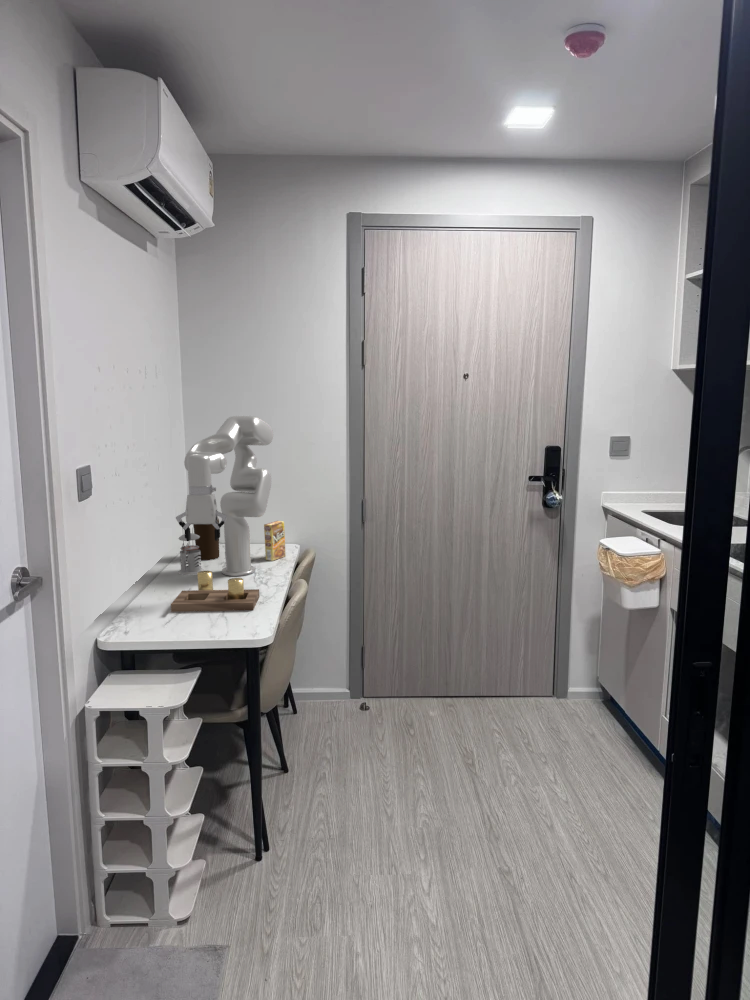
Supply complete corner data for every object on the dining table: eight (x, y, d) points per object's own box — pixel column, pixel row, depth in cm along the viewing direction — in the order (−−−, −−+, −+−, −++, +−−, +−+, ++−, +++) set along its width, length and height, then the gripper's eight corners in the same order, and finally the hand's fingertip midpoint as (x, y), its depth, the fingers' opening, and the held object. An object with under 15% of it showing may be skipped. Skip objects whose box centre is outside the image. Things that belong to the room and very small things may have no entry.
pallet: (182, 600, 222) (182, 590, 222) (259, 599, 223) (259, 589, 223) (171, 614, 209) (170, 604, 208) (253, 613, 209) (253, 602, 209)
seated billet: (230, 601, 218) (229, 577, 217) (245, 600, 218) (244, 577, 217) (227, 606, 213) (226, 582, 212) (243, 605, 214) (242, 582, 212)
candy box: (273, 561, 271) (271, 525, 269) (264, 560, 274) (263, 524, 271) (286, 556, 279) (284, 521, 276) (278, 555, 281) (276, 520, 278)
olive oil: (225, 555, 282) (222, 498, 278) (212, 561, 272) (209, 502, 268) (203, 553, 285) (200, 497, 281) (190, 559, 275) (186, 501, 271)
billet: (200, 592, 231) (199, 570, 230) (214, 592, 231) (213, 570, 230) (197, 597, 226) (195, 574, 225) (211, 596, 226) (210, 574, 225)
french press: (207, 568, 262) (204, 506, 258) (197, 576, 251) (193, 512, 246) (184, 567, 263) (180, 506, 259) (172, 576, 252) (168, 512, 247)
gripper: (228, 489, 226) (230, 537, 229) (177, 489, 226) (180, 538, 228) (223, 492, 219) (226, 542, 221) (171, 492, 218) (174, 543, 221)
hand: (202, 540), depth 225 cm, fingers open, 9 cm apart
